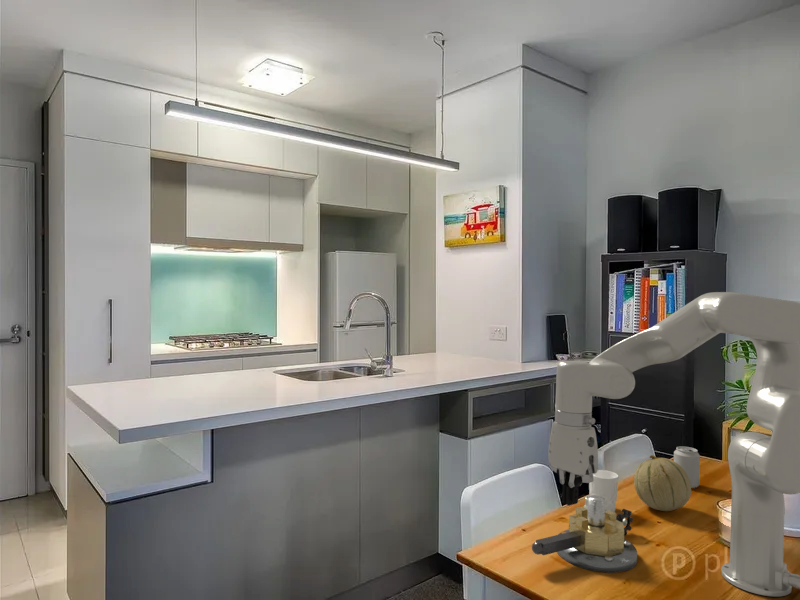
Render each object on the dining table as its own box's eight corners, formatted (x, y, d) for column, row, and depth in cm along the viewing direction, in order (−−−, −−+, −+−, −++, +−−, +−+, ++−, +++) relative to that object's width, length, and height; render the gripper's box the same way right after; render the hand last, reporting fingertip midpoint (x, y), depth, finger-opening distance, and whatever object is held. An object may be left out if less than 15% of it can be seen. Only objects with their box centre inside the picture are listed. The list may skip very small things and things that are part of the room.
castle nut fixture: (594, 529, 137) (595, 502, 137) (634, 549, 127) (635, 520, 127) (515, 548, 126) (516, 519, 126) (552, 572, 115) (552, 540, 115)
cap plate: (648, 553, 130) (649, 498, 130) (618, 581, 117) (619, 520, 116) (576, 530, 142) (577, 479, 142) (541, 553, 129) (542, 497, 129)
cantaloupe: (694, 523, 148) (696, 467, 148) (635, 515, 152) (636, 461, 152) (685, 503, 162) (686, 452, 162) (631, 496, 166) (632, 447, 166)
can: (703, 489, 174) (704, 452, 174) (680, 489, 174) (681, 451, 174) (691, 481, 181) (692, 445, 181) (668, 481, 181) (669, 445, 181)
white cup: (582, 505, 159) (582, 471, 158) (603, 502, 162) (603, 468, 162) (602, 516, 151) (602, 480, 151) (623, 512, 154) (624, 476, 154)
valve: (577, 522, 147) (618, 539, 137) (577, 498, 147) (619, 512, 137) (591, 517, 151) (632, 532, 141) (592, 493, 151) (633, 507, 141)
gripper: (614, 424, 114) (610, 512, 114) (557, 410, 127) (554, 489, 127) (590, 428, 110) (587, 519, 110) (534, 413, 123) (531, 495, 123)
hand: (570, 503), depth 119 cm, fingers closed
